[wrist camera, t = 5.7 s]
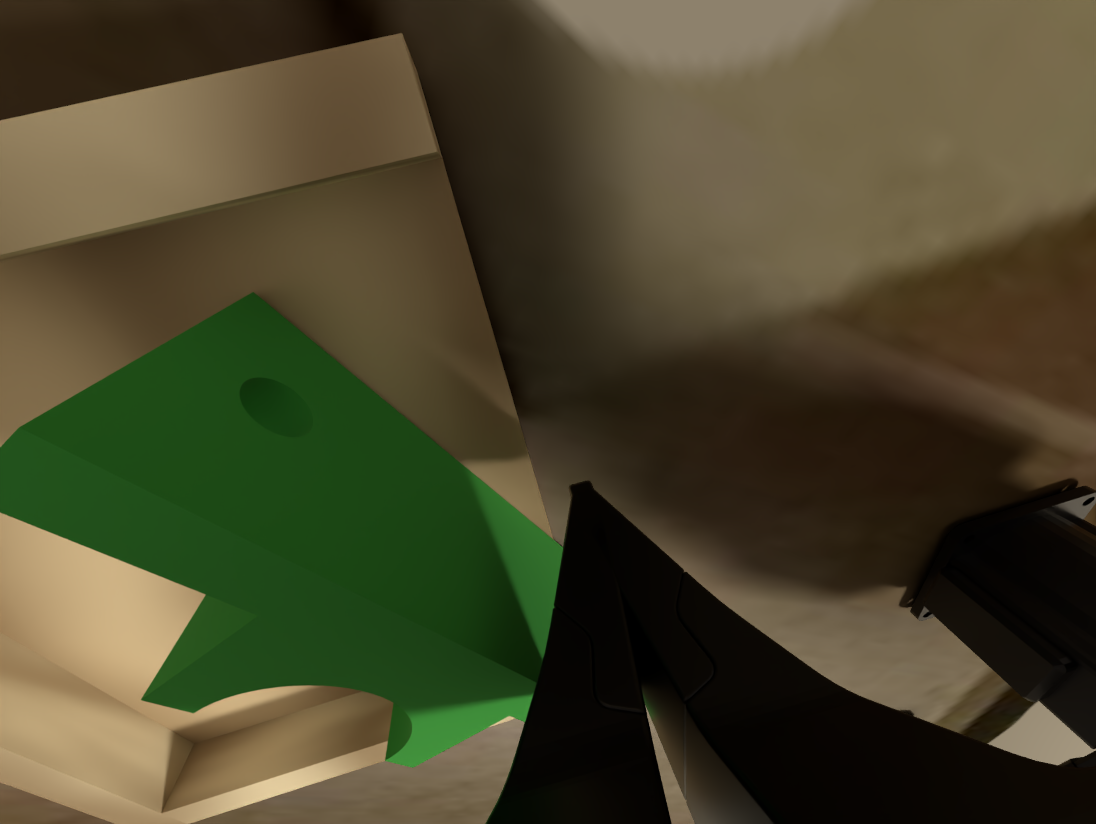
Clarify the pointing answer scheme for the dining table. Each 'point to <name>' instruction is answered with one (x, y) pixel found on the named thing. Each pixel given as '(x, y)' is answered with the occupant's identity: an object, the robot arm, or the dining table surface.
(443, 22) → the dining table surface
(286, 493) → the pipe clamp
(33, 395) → the corral
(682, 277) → the dining table surface
